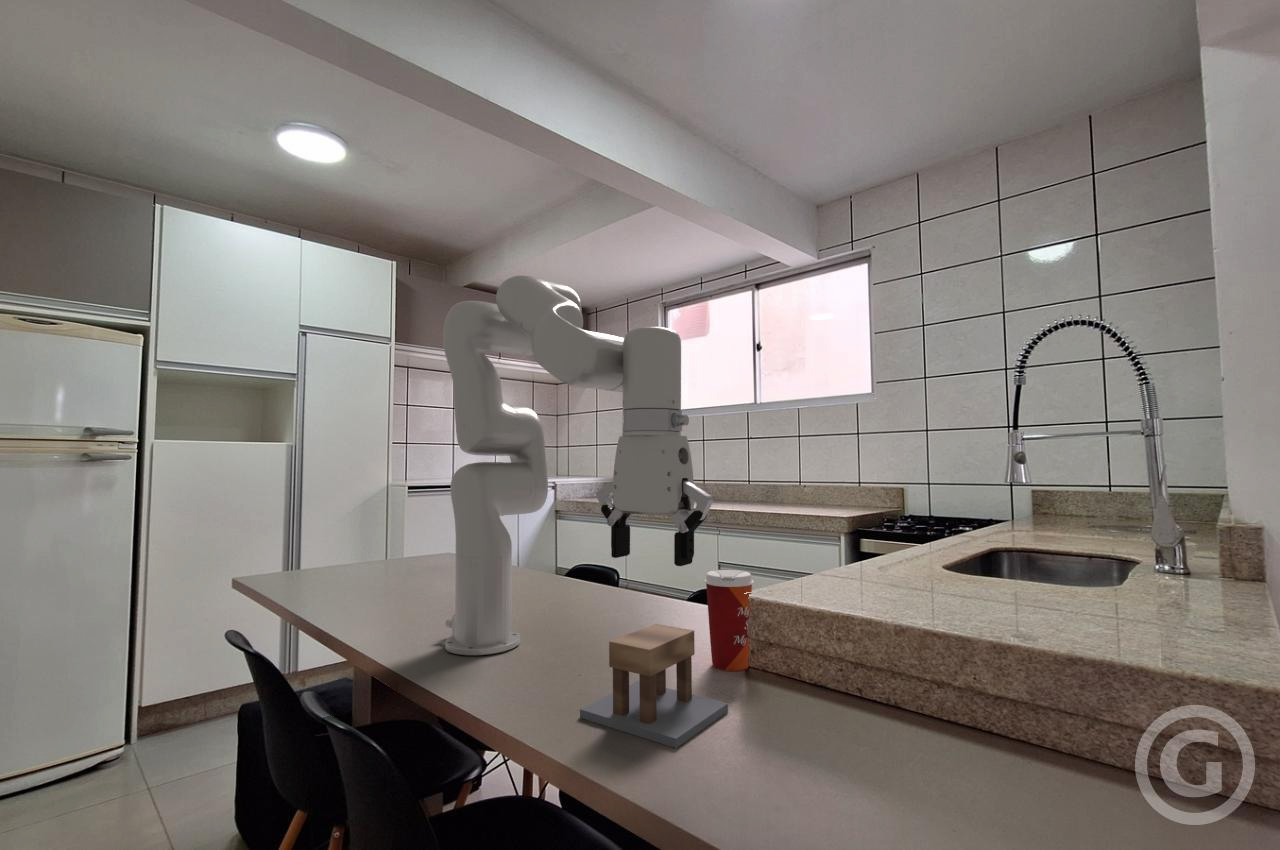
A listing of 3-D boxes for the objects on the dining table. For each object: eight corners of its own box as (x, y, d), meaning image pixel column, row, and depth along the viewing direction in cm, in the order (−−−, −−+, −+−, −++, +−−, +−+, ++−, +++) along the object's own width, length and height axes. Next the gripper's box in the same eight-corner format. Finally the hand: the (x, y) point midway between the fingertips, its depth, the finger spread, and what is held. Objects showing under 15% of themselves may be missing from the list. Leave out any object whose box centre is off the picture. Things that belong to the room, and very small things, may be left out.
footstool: (656, 688, 80) (655, 623, 81) (695, 698, 77) (694, 630, 77) (609, 713, 72) (609, 641, 73) (650, 726, 69) (649, 649, 69)
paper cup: (755, 675, 88) (753, 578, 89) (703, 672, 90) (701, 576, 91) (756, 658, 96) (754, 569, 97) (707, 656, 97) (706, 568, 98)
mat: (579, 717, 74) (579, 709, 74) (637, 688, 83) (637, 680, 83) (676, 748, 65) (676, 738, 65) (728, 711, 75) (727, 703, 75)
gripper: (725, 424, 75) (726, 563, 74) (616, 428, 85) (615, 550, 84) (694, 421, 69) (694, 572, 68) (581, 425, 79) (579, 557, 78)
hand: (651, 560), depth 76 cm, fingers open, 9 cm apart
